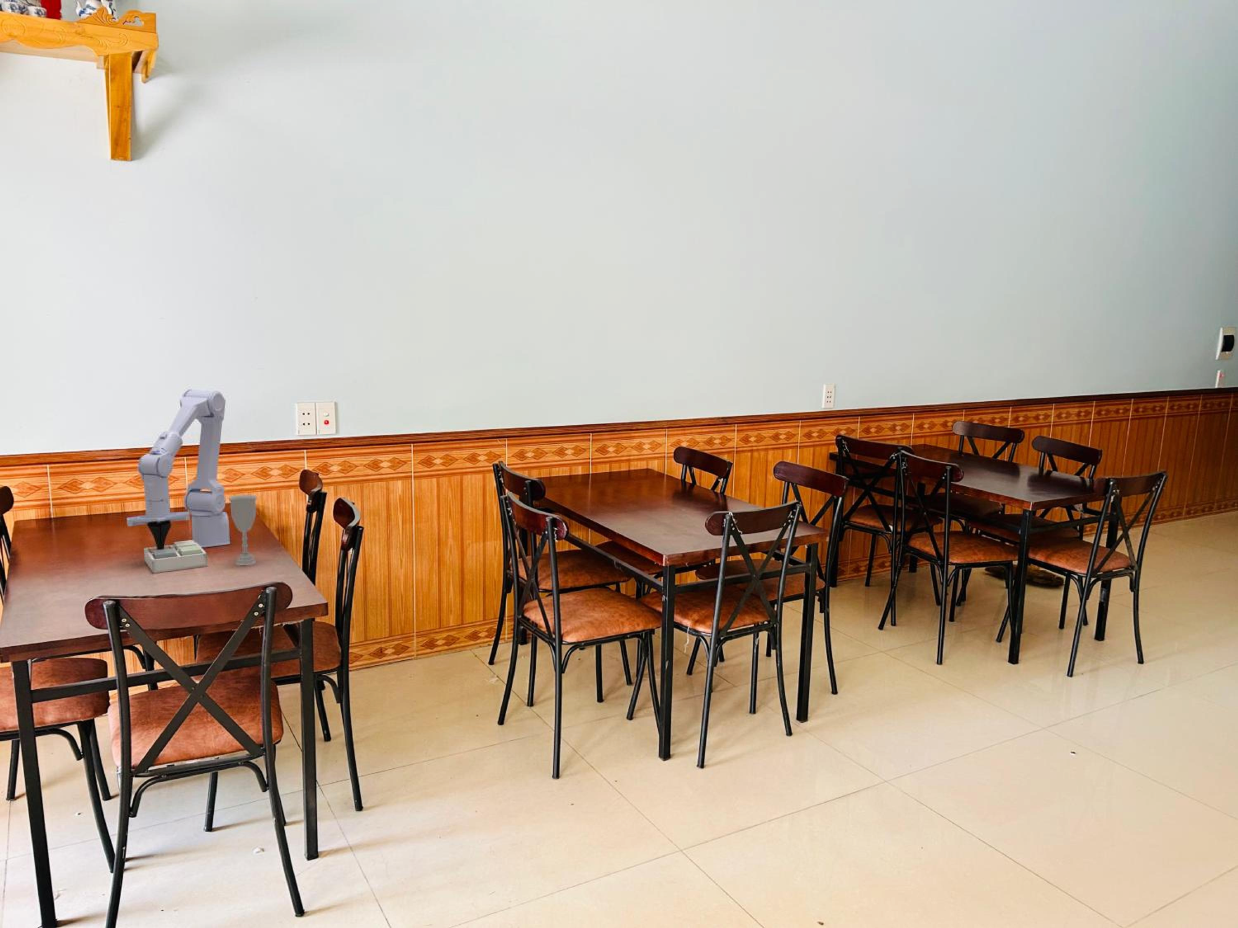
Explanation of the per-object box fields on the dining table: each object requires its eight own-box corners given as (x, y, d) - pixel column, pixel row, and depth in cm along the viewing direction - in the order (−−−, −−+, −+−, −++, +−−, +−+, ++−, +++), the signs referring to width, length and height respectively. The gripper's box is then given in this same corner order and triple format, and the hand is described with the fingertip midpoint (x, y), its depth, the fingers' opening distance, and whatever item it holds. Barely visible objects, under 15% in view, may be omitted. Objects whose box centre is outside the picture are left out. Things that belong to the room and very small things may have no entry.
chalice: (265, 561, 244) (263, 496, 241) (247, 567, 238) (244, 501, 235) (243, 557, 246) (240, 493, 243) (225, 564, 240) (222, 498, 237)
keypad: (196, 554, 248) (196, 541, 248) (207, 566, 238) (206, 553, 237) (144, 560, 241) (143, 548, 240) (153, 573, 231) (152, 560, 230)
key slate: (172, 557, 238) (172, 548, 238) (176, 561, 234) (175, 552, 234) (153, 559, 235) (153, 550, 235) (156, 564, 232) (156, 554, 231)
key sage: (197, 554, 242) (197, 545, 241) (201, 558, 238) (201, 549, 238) (179, 556, 239) (178, 547, 238) (182, 560, 235) (182, 551, 235)
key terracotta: (168, 554, 243) (168, 546, 243) (171, 559, 239) (171, 550, 239) (149, 557, 240) (149, 548, 240) (152, 561, 237) (152, 552, 236)
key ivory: (193, 548, 246) (192, 539, 246) (196, 552, 243) (196, 543, 242) (174, 550, 244) (174, 542, 243) (177, 555, 240) (177, 546, 240)
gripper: (128, 505, 230) (132, 556, 232) (190, 499, 238) (193, 548, 241) (124, 499, 235) (127, 549, 238) (184, 494, 244) (187, 542, 246)
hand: (160, 549), depth 239 cm, fingers closed
